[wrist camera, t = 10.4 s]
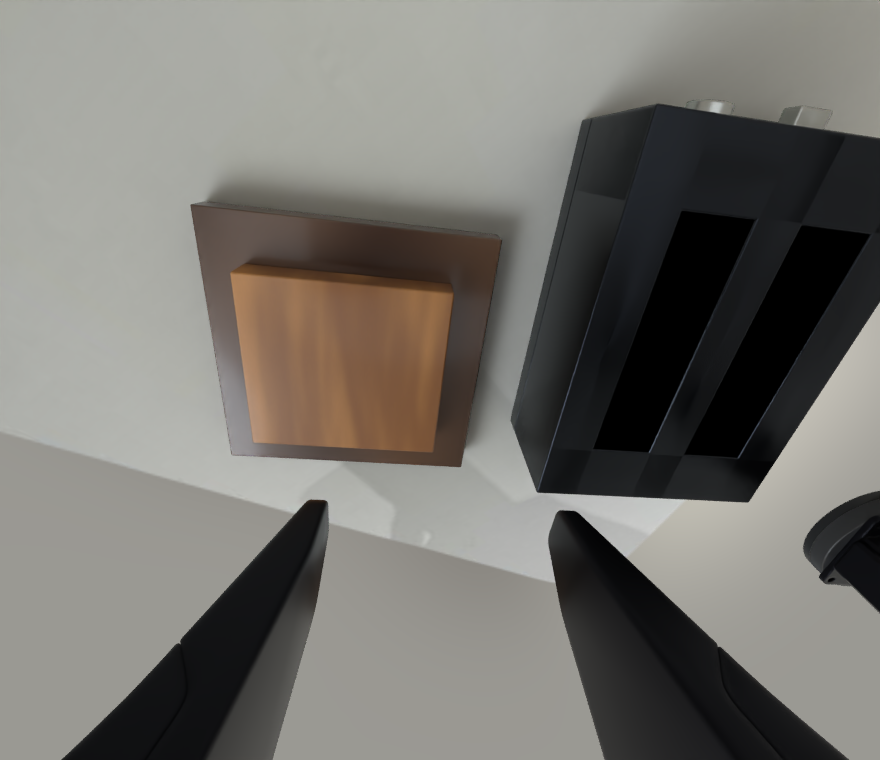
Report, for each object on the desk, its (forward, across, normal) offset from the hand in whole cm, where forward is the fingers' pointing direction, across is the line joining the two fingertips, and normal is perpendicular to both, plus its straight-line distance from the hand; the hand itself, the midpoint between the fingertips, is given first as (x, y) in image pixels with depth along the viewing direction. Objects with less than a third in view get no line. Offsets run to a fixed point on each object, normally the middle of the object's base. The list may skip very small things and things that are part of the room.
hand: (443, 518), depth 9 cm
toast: (+10, -1, +2) cm, 10 cm away
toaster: (+12, -10, -2) cm, 16 cm away
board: (+12, +4, +2) cm, 12 cm away
